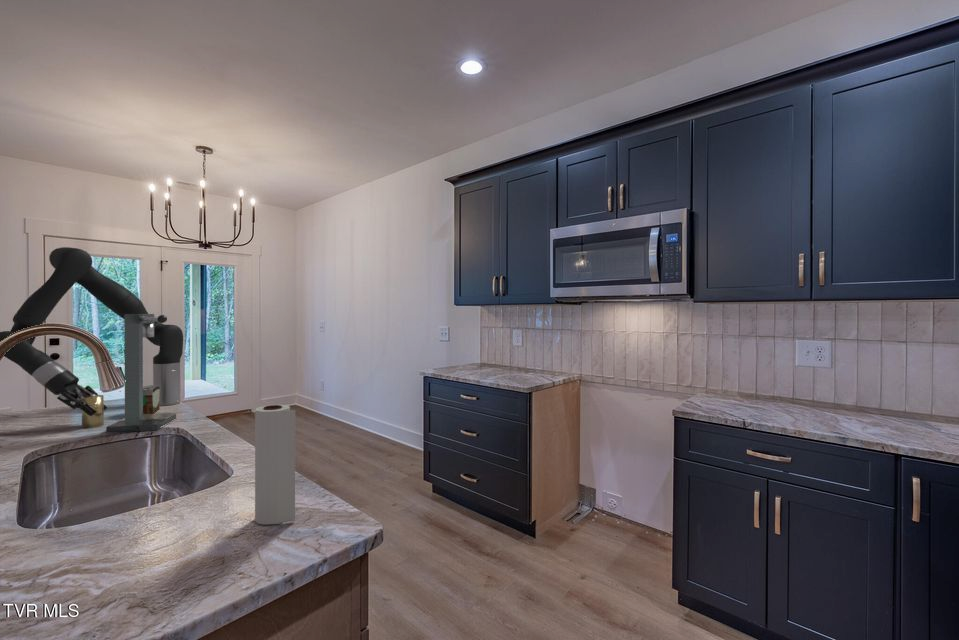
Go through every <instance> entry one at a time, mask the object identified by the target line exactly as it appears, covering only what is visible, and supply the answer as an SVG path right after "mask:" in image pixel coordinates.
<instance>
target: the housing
mask: <svg viewBox="0 0 959 640" xmlns="http://www.w3.org/2000/svg"><path fill="white" fill-rule="evenodd" d="M104 396H105V395H104V394H98V395H95V394H92V395H90V396H85V397H84V400H85V402H86V403H87V404H89V405H90V406H91V407H93V408H94V409H95V410H96V411H97V412H96V413H95V414H94V415H92V416H89V415H88V414H87V413H85V412H84V411H83V410H81V428H82V429H93V428H94V429H95V428H98V427H99V426H100V427H103V426H104V425H105V424H104V421H105V418H104V417H105V415H104V414H105V413H104V412H105V410H104V405H105V404H104ZM102 425H103V426H102Z"/></svg>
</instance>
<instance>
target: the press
mask: <svg viewBox="0 0 959 640" xmlns="http://www.w3.org/2000/svg"><path fill="white" fill-rule="evenodd" d="M123 320H124V326H123V327H124V329H123V330H124V331H123V332H124V333H123V334H124V340H123V341H124V342H123V343H124V344H123V345H124V417H123V418H122V419H119V420H118V421H116V422H114V423H112V424H110V425H108V426H106V428H105V431H106V432H117V433H133V432H150V431H153V432H154V431H159V430H160V429H161V428H160V427H161V426H163V425H165V424H167V423H169V422H171V421H172V420H174V419H176V420H177V413H176V412H167V413H166V412H165V413H156V414H143V387H144V376H143V375H144V373H143V372H144V367H143V365H144V364H143V363H144V360H143V359H144V358H143V356H144V355H143V354H144V352H143V351H144V348H143V347H144V345H143V344H144V342H143V338H146V337H154V321H158V322H160V323H162V324H164V323H166V322H167V321H168V317H167V316H166V315H165V314H161V315H159V316H155V313H148V314H124V319H123ZM125 380H126V382H125ZM174 421H175V420H174ZM172 422H173V421H172ZM172 422H171V423H172ZM169 424H170V423H169ZM167 425H168V424H167ZM106 432H105V433H106Z"/></svg>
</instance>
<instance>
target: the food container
mask: <svg viewBox="0 0 959 640" xmlns="http://www.w3.org/2000/svg"><path fill="white" fill-rule="evenodd" d="M160 407H161V406H160V385H153V384H151V385H143V414H155V413H156V412H157V411H158V410H160ZM158 412H159V411H158ZM158 412H157V413H158ZM157 413H156V414H157Z"/></svg>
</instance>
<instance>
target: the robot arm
mask: <svg viewBox="0 0 959 640" xmlns="http://www.w3.org/2000/svg"><path fill="white" fill-rule="evenodd" d="M48 257H49V258H48V259H49V260H48V261H49V263H50V265H51V266H52V267H53V269H54V270H53V273H52V274H51V276H50V277H49V278H48V279H47V280H46V281H45V282H44V283H43V284H42V285H41V286H40V287H39V288H38V289H36V290H35V291H34V292H33V293H32V294H31V295H30V296H29V297H28V298H27V299H26V300H24V302H23V303H22V304H21V306H20V307H19V308H18V310H17V311H16V313H15V314H14V315H13V317H12V322H13V324H12V325H13V326H12V327H11V329H10V330H6V331H5V330H3V331H0V341H1V340H3V339H4V338H6V337H7V336H9V335H10V334H12V333H14V332H16V331H18V330H21V329H23V328H27V327H31V326H35V325H40V324H42V325H43V324H44V323H45V321H46V320H47V318H48V317H49V316H50V314H51V313H52V311H53V310H54V308H55V307H56V306H57V305H58V303H59V302H60V301H61V300H62V298H64V296H65V294H67V293H68V291H69V290H70V289H72V287H73V286H74V285H75V284H76V283H77V284H78V285H80V286H81V287H83V288H84V289H85V290H86V291H87V292H88V293H90V294H91V295H92V296H93V297H94V298H95V299H96V300H98V301H99V302H100V303H101V304H103V305H104V306H105V307H106V308H108V310H110V311H112V312H113V313H114V314H116V315H117V316H118V317H120V318H121V319H122V320H124V314H149V312H148V311H147V309H146V307H145V305H144V303H143V302H142V300H141V299H140V298H139V297H138V296H137V295H135V294H134V293H133V292H132V291H131V290H129V289H128V288H127V287H125V286H124V285H122V284H120V283H119V282H117V281H115V280H113V279H112V278H110V277H108V276H106V275H104V274H103V273H101V272H100V271H98V270H97V269H96V268H95V267H94V266H93V258H92V256H91V255H90V253H88V251H86V250H84V249H81V248H75V247H68V246H67V247H66V246H63V247H57V248H55V249H53V250H52V251H51V252H50V254H49V256H48ZM36 337H37V336H36ZM36 337H33V338H30V339H27V340H24V341H22V342H20V343H18V344H16V345H15V346H14V347H12V348H11V349H10V350H9V351H8V352H6V354H5V355H4V356H3V357H5V358H6V359H8V360H10V361H11V362H13V363H14V364H16V365H18V366H19V367H20V368H21V369H22V370H23V371H25V372H26V373H28V374H29V375H30V376H31V377H33V379H35V381H36V382H37V383H39V384H40V385H41V386H43V387H44V388H45V389H47V390H48V391H49V392H50V393H52V394H53V395H54V396H57V397H56V399H57V400H58V401H60V402H61V403H63V404H65V405H66V406H68V407H70V408H71V409H73V410H76V409H77V410H81V411H82V410H83V411H84V412H85V413H87V414H88V415H89V416H92V415H94V414H95V413H96V412H97V411H96V410H95V409H94V408H93V407H91V406H90V405H89V404H87V403H86V402H85V400H84V397H85V396H90V395H92V394H95V395H99V394H98V393H97V392H96V391H95V390H94V389H93V388H92V387H91V386H90V385H86V386H85V387H84V386H82V385H80V384H78V383H79V382H80V379H79V377H77V375H75V374H74V373H72V371H70V370H69V369H68V368H66V367H65V366H64V365H62V364H61V363H59V362H57V361H56V360H54V359H53V358H52V357H51V356H49V355H48V354H47V353H45V352H44V351H42V350H40V349H37V348H36V347H35V346H34V345H33V344H34V342H35V340H36ZM145 338H146V339H147V340H148V341H149V342H150V343H151V344H153V345H155V346H156V347H157V346H158V347H159V349H158V353H157V354H156V355H154V356H153V357H152V381H153V382H152V385H160V407H163V406H172V405H177V404H180V403H181V358H182V357H183V356H182V355H183V353H184V352H183V351H184V350H183V349H184V348H183V347H184V333H183V330H182V329H181V327H179V326H178V325H177V324H176V325H174V324H164V323H160V322H158V321H154V337H145ZM177 400H178V401H179V402H180V403H179V402H178V401H177ZM107 408H108V407H107V405H105V404H104V411H105V410H106V409H107Z"/></svg>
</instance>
